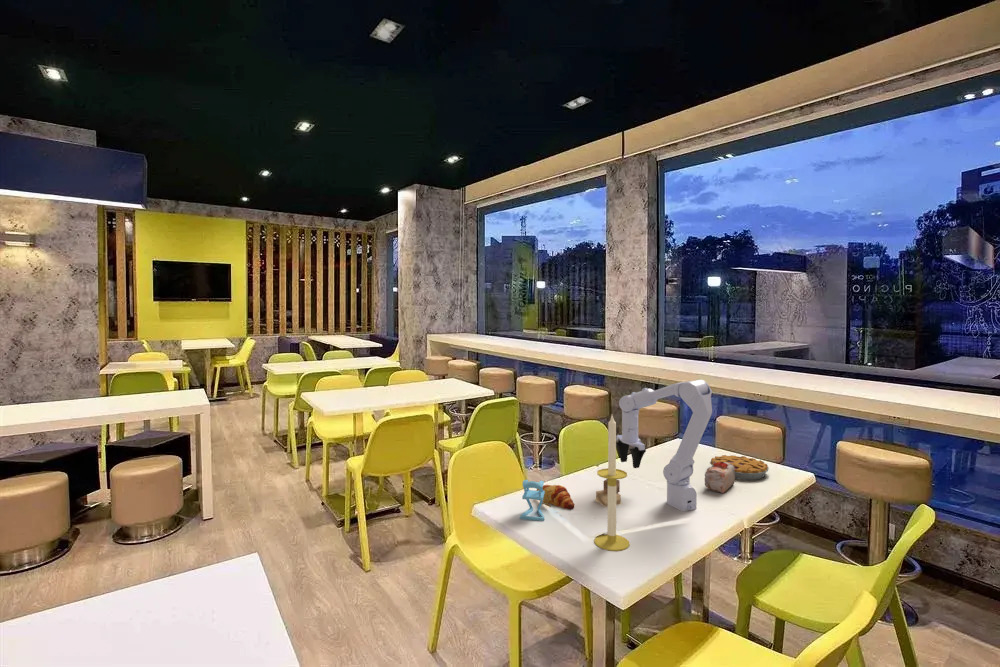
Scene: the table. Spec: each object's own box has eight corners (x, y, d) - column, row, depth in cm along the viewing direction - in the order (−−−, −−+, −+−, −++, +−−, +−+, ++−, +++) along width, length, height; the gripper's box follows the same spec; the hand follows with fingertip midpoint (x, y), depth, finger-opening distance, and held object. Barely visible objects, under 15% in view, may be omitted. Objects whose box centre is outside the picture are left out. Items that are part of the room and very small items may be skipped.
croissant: (531, 504, 182) (522, 486, 180) (551, 486, 187) (542, 469, 185) (567, 524, 164) (557, 505, 162) (588, 504, 168) (579, 485, 166)
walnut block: (619, 491, 172) (619, 480, 172) (614, 495, 169) (614, 483, 169) (608, 489, 175) (609, 477, 175) (603, 492, 172) (603, 480, 172)
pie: (774, 471, 206) (775, 459, 206) (760, 485, 190) (760, 472, 190) (719, 461, 221) (720, 450, 221) (701, 473, 205) (702, 461, 204)
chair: (546, 511, 167) (546, 475, 167) (544, 521, 159) (543, 483, 159) (524, 509, 169) (523, 474, 168) (520, 519, 161) (519, 482, 160)
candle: (624, 534, 149) (624, 410, 148) (634, 550, 139) (634, 417, 138) (590, 535, 149) (591, 410, 147) (598, 551, 139) (598, 417, 137)
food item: (725, 495, 180) (725, 468, 180) (702, 490, 185) (703, 464, 185) (736, 485, 190) (736, 459, 190) (714, 480, 196) (715, 455, 195)
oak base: (620, 503, 170) (620, 494, 169) (605, 506, 168) (605, 497, 167) (610, 497, 175) (610, 489, 175) (595, 499, 173) (596, 491, 173)
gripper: (652, 431, 177) (651, 469, 177) (627, 422, 190) (627, 457, 191) (635, 433, 174) (635, 471, 175) (611, 424, 188) (611, 460, 188)
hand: (629, 464), depth 183 cm, fingers open, 7 cm apart
